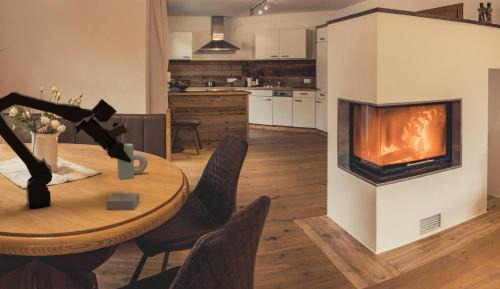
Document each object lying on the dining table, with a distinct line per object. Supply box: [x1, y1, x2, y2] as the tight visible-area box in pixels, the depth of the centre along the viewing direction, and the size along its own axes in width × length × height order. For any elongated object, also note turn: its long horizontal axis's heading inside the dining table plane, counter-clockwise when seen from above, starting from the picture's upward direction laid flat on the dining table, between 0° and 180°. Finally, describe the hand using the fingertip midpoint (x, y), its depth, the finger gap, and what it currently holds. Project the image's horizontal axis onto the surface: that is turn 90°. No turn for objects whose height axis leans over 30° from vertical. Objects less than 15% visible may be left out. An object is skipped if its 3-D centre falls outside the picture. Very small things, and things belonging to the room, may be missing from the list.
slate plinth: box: [105, 192, 140, 211], centre depth 142 cm, size 9×9×3 cm
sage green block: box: [116, 143, 135, 181], centre depth 151 cm, size 5×5×12 cm
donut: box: [134, 151, 148, 175], centre depth 184 cm, size 10×4×10 cm, turn 109°
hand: (129, 160), depth 152 cm, fingers closed on sage green block, 5 cm apart
